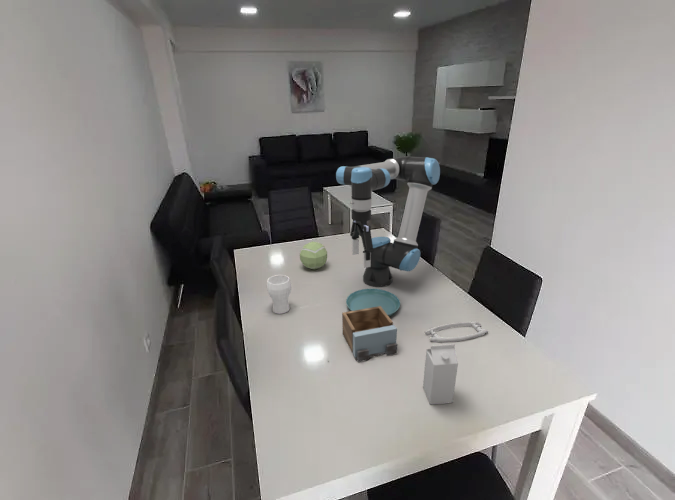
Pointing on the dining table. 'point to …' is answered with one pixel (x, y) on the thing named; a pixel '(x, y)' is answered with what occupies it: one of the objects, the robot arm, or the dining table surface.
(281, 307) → the cup
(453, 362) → the milk carton
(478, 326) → the door handle
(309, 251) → the decorative sphere
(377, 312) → the cabinet
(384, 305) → the saucer
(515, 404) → the dining table surface
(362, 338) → the door
